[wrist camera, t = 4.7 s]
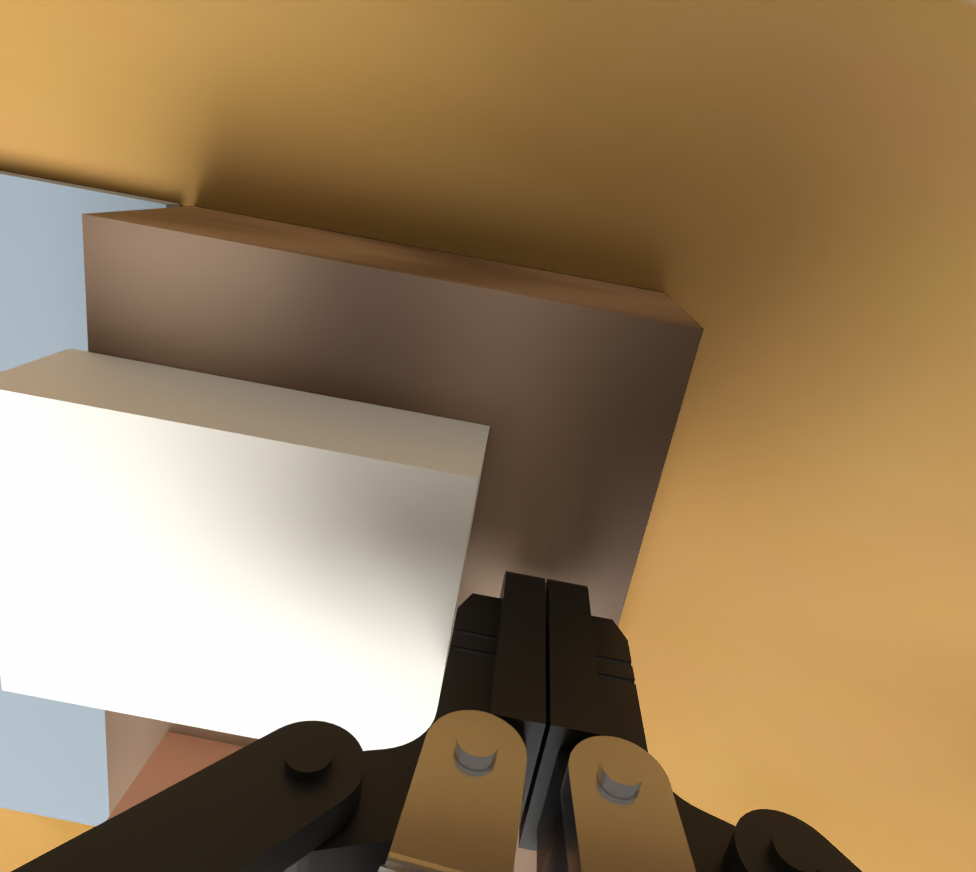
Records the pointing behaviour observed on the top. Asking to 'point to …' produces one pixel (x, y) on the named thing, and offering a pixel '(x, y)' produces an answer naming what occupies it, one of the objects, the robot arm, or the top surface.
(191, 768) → the terracotta tile
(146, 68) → the top surface
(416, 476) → the cream tile
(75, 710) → the slate mat
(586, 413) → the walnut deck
